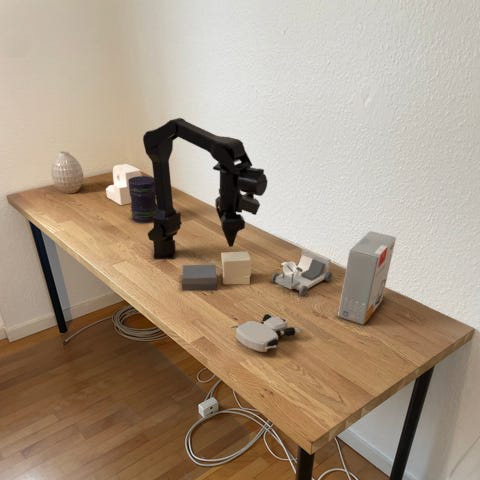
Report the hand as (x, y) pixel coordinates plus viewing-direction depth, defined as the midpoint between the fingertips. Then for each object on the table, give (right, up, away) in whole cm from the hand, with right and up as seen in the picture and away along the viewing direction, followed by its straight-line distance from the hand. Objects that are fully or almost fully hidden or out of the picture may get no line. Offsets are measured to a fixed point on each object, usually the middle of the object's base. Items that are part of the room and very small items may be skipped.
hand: (228, 239), depth 142 cm
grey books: (-9, -13, +2) cm, 16 cm away
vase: (-71, +33, +69) cm, 104 cm away
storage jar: (-33, +15, +44) cm, 58 cm away
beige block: (+2, -11, +5) cm, 12 cm away
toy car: (+21, -13, +4) cm, 25 cm away
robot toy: (+10, -29, -21) cm, 37 cm away
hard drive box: (+37, -21, -8) cm, 43 cm away
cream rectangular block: (+2, -7, +2) cm, 8 cm away
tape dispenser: (-47, +29, +63) cm, 84 cm away
